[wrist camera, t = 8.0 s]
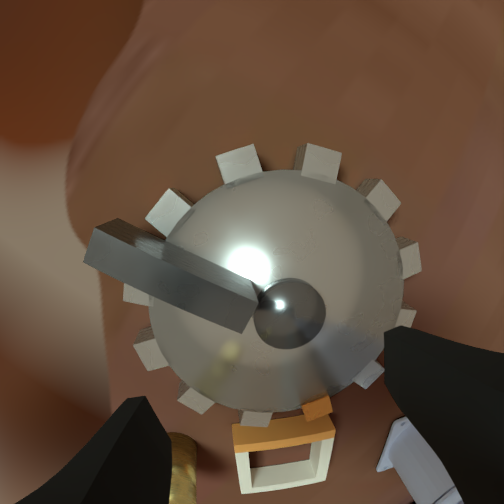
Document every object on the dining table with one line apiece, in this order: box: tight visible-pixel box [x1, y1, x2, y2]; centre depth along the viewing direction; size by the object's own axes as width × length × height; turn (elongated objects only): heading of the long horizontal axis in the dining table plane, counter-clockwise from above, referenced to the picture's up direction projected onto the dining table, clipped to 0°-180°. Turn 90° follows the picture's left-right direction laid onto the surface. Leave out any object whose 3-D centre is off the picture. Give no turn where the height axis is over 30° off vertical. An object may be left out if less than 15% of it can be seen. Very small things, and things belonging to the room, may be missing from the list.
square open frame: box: [232, 414, 336, 494], centre depth 19 cm, size 7×7×2 cm
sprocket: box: [83, 143, 422, 427], centre depth 15 cm, size 16×18×5 cm
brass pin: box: [167, 432, 197, 504], centre depth 16 cm, size 3×3×6 cm
